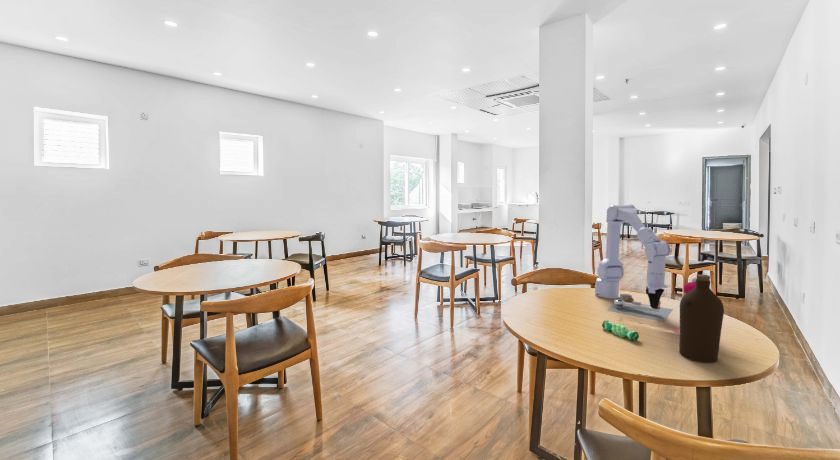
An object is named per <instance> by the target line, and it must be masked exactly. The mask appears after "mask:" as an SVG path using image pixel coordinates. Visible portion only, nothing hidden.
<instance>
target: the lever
mask: <svg viewBox="0 0 840 460" xmlns="http://www.w3.org/2000/svg"><path fill="white" fill-rule="evenodd" d="M661 303H662V302H661V300H660V301H659V305H658V307H657V308H652V307H651V306H645V305H646V304H645V305H641V304H642V302H641V301H635V300H634V301H633V302H632V303H628V302H625V301H624V300H622V299H620V298H615V299H613V305H617V306H626V307H632V308H638V309H643V310H649V311H654V312H659V309H660V307H661Z"/></svg>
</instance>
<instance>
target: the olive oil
mask: <svg viewBox="0 0 840 460" xmlns="http://www.w3.org/2000/svg"><path fill="white" fill-rule="evenodd" d="M696 278H697V279H696V287H695V288H694V289H692V290H691V291H689V292H688V293H687V294H686V293H685V294H683V296H682V297H681V300H680V303H679V347H678V348H679V350H678V351H679V354H680V355H681V356H682V357H684V358H686V359H688V360H691V361H695V362H700V363H704V364H705V363H706V364H712V363H713V364H714V363H716V362H718V359H719V351H720V344H721V343H720V341H721V335H722V327H723V321H724V314H725V308H724V304H723V301H722V300H721V299H720V297H718V296H717V295H716V294H715V292H713V290H712V289H711V287H710V286H711V280H710V279H711V275H709V274H708V275H707V274H699V273H698V274H696Z"/></svg>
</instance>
